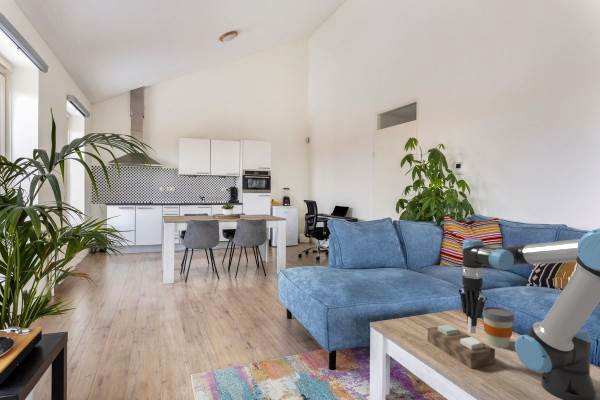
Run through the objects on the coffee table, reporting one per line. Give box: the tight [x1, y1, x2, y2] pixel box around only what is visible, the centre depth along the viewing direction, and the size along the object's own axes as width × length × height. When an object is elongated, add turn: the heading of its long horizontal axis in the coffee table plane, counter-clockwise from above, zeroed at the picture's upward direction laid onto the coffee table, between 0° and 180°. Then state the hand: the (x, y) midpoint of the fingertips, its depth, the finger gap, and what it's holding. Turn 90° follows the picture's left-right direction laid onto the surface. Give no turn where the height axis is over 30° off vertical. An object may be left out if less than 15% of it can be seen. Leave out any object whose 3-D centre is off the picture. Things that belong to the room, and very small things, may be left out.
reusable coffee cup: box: [482, 306, 515, 349], centre depth 156 cm, size 13×13×15 cm
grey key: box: [460, 336, 484, 350], centre depth 141 cm, size 6×6×5 cm
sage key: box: [437, 324, 459, 335], centre depth 155 cm, size 6×6×5 cm
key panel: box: [427, 326, 496, 370], centre depth 148 cm, size 26×12×6 cm, turn 18°
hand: (471, 332), depth 141 cm, fingers closed
